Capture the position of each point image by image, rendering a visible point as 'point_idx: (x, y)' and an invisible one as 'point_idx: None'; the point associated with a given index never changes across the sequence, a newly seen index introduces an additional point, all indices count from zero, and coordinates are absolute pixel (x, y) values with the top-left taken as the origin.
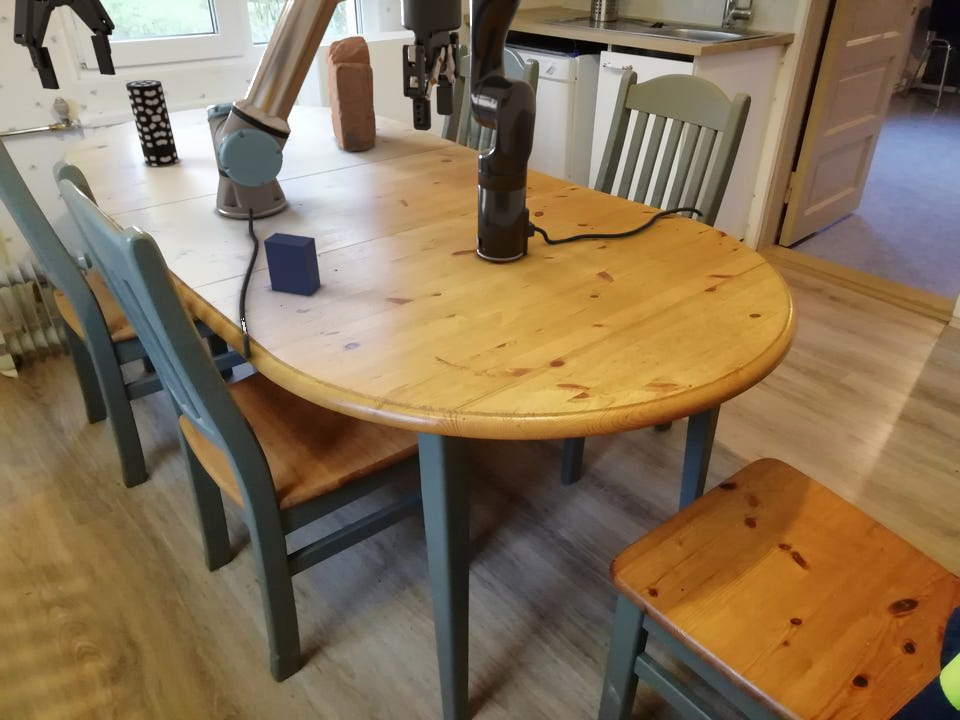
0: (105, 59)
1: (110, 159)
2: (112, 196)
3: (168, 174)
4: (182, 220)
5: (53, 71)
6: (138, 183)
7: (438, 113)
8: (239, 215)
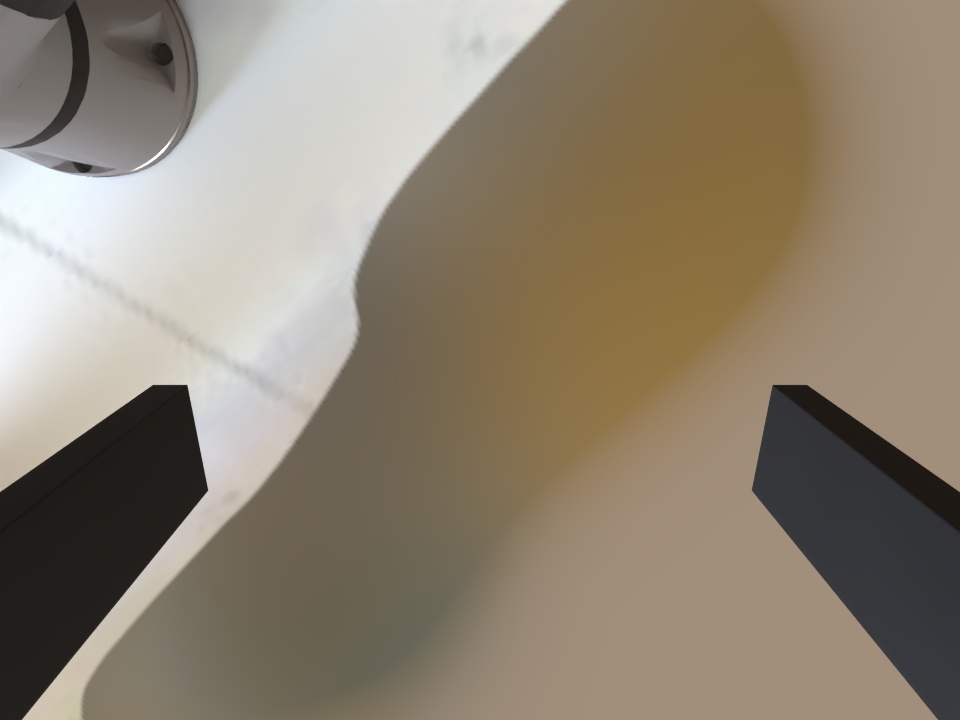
0: (121, 481)
1: None
2: (216, 500)
3: (8, 481)
4: (272, 216)
5: (865, 448)
6: None
7: None
8: (184, 31)
